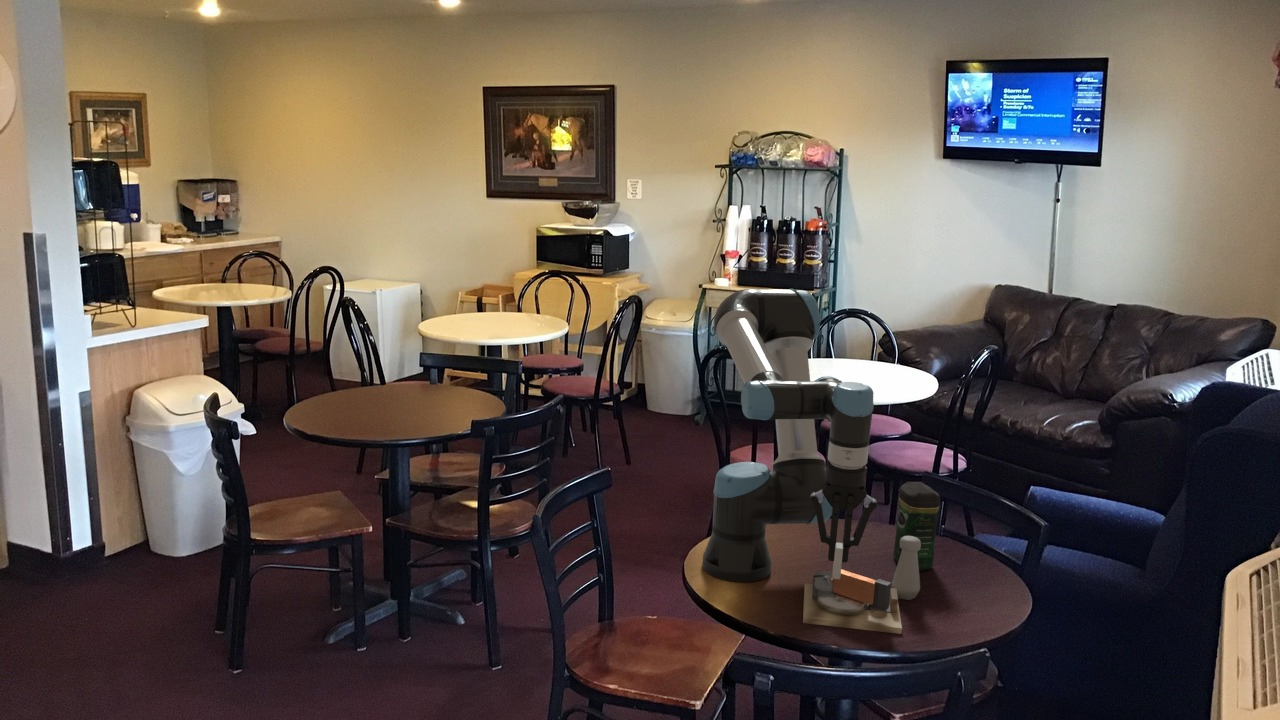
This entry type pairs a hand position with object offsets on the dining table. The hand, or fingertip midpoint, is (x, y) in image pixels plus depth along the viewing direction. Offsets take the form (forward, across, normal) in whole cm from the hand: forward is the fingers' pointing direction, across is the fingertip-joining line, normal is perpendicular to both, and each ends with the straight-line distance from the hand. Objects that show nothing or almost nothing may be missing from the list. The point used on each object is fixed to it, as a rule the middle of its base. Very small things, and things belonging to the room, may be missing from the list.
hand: (836, 575), depth 206 cm
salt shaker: (+10, +15, +15) cm, 23 cm away
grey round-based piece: (+8, +3, +3) cm, 9 cm away
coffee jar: (+10, +18, +33) cm, 39 cm away
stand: (+9, +4, +5) cm, 11 cm away
